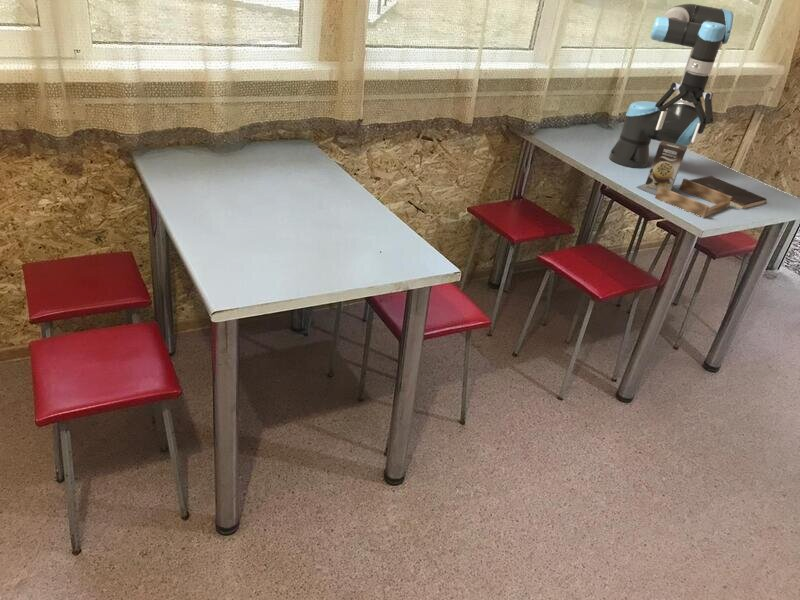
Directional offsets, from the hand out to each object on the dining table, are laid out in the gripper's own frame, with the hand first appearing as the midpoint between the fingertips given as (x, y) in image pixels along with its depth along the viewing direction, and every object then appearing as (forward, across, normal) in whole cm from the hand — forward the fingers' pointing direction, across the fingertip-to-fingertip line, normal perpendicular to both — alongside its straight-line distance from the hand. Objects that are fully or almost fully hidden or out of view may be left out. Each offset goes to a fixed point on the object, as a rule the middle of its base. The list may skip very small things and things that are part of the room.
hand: (675, 135), depth 227 cm
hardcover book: (+21, +16, +22) cm, 34 cm away
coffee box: (+20, 0, 0) cm, 20 cm away
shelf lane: (+20, +14, 0) cm, 24 cm away
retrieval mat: (+20, 0, 0) cm, 20 cm away
